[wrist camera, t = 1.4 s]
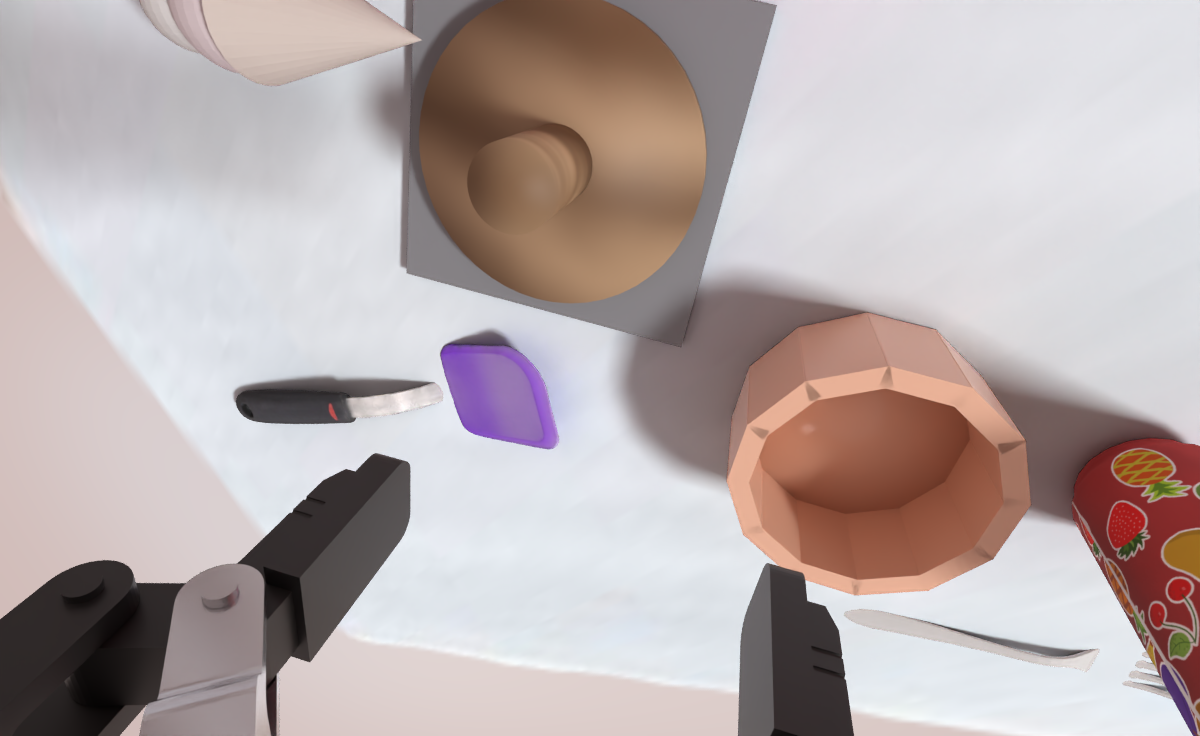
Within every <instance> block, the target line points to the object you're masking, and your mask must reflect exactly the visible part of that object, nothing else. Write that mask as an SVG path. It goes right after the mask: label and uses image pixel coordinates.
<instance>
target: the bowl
mask: <svg viewBox="0 0 1200 736" xmlns="http://www.w3.org/2000/svg"><path fill="white" fill-rule="evenodd" d="M727 483H728V487H729V490H730V493H731V496H732V500H733V503H734V506H735V509H736V513H737V516H738V519H739V522H740V526H741V529H742V532H743V535H744V536H745V537H747V538H748V539H749V540H750V541H751V542H752V543H753V544H755V545H756V546H757V547H758V548H759V549H760V550H761V551H763V552H764V553H765V554H766V555H767V556H768V557H769V558H771V559H772V560H773V561H774V562H775V563H776V564H777V565H779V566H780V567H783V568H787V569H791V570H794V571H798V572H801V573H803V574H804V577H805V580H807V581H810V582H814V583H817V584H820V585H823V586H827V587H830V588H833V589H836V590H840V591H843V592H846V593H849V594H853V595H867V594H883V593H898V592H914V591H929V590H930V589H932V588H934V587H937V586H939V585H941V584H943V583H945V582H947V581H949V580H951V579H953V578H955V577H957V576H959V575H961V574H963V573H965V572H968V571H970V570H972V569H974V568H976V567H978V566H980V565H982V564H984V563H986V562H988V561H990V560H993V559H994V557H995V556H996V554H997V553H998V551H999V550H1000V548H1001V547H1002V546H1003V544H1004V543H1005V541H1006V540H1007V538H1008V537H1009V536H1010V534H1011V533H1012V531H1013V530H1014V529H1015V527H1016V526H1017V524H1018V523H1019V521H1020V520H1021V519H1022V517H1023V516H1024V514H1025V513H1026V511H1027V510H1028V509H1029V507H1030V506H1031V499H1030V488H1029V476H1028V464H1027V452H1026V440H1025V439H1024V437H1023V436H1022V434H1021V433H1020V431H1019V430H1018V428H1017V427H1016V426H1015V424H1014V423H1013V421H1012V420H1011V418H1010V417H1009V415H1008V414H1007V412H1006V411H1005V409H1004V408H1003V407H1002V405H1001V404H1000V402H999V401H998V399H997V398H996V396H995V395H994V393H993V392H992V390H991V389H990V388H989V386H988V385H987V383H986V382H985V380H984V379H983V377H982V376H981V374H979V373H978V372H977V371H976V370H975V369H974V368H973V367H972V366H971V365H970V364H969V363H968V362H967V361H966V360H965V359H964V358H963V357H962V356H961V355H960V354H959V353H958V352H957V351H956V350H955V349H954V348H953V347H952V346H951V345H950V344H949V343H948V342H947V341H946V340H945V339H944V337H943V336H942V335H941V334H940V333H939V332H938V331H937V330H936V329H931V328H927V327H923V326H919V325H915V324H911V323H907V322H903V321H899V320H895V319H891V318H887V317H883V316H879V315H875V314H871V313H868V312H866V313H862V314H858V315H853V316H848V317H844V318H839V319H834V320H830V321H825V322H820V323H816V324H811V325H806V326H802V327H797V329H795V330H794V331H793V332H792V333H790V334H789V335H788V336H787V337H785V338H784V339H783V340H782V341H780V342H779V343H778V344H777V345H776V346H774V347H773V348H772V349H771V350H769V351H768V352H767V353H766V354H764V355H763V356H762V357H761V358H760V359H758V360H757V361H756V362H755V363H753V364H752V365H751V366H750V367H749V370H748V372H747V375H746V378H745V381H744V384H743V387H742V390H741V393H740V395H739V398H738V401H737V404H736V407H735V410H734V413H733V416H732V421H731V433H730V445H729V457H728V469H727Z"/></svg>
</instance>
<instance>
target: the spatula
mask: <svg viewBox="0 0 1200 736" xmlns="http://www.w3.org/2000/svg"><path fill="white" fill-rule="evenodd" d="M441 360H442V364H443V368H444V373H445V376H446V379H447V382H448V385H449V388H450V392H451V395H452V397H453V400H454V404H455V407H456V410H457V413H458V415H459V417H460V420H461V422H462V424H463V426H464V427H465V428H466V429H467V430H468V431H469V432H471V433H473V434H475V435H479V436H483V437H487V438H491V439H497V440H502V441H507V442H513V443H517V444H522V445H528V446H532V447H538V448H544V449H553V448H554V447H556V446H557V445H558V443H559V436H558V432H557V428H556V424H555V421H554V417H553V413H552V409H551V406H550V401H549V398H548V393H547V389H546V385H545V383H544V381H543V379H542V378H541V375H540V374H539V372H538V370H537V369H536V368H535V366H534V365H533V364H532V363H531V362H530V361H529V360H528V359H527V358H526V357H525V356H524V355H523V354H521V353H520V352H518V351H517V350H515V349H512V347H507V346H502V345H501V346H486V345H482V346H481V345H457V344H449V345H446V346H445V347H444V348H443V349H442V351H441ZM441 401H443V392H442V390H441V388H440V387H439V385H438V384H437V383H430V384H427V385H423V386H421V387H416V388H412V389H408V390H404V391H399V392H394V393H389V394H382V395H374V396H362V397H350V396H349V395H348V394H346V393H337V392H317V391H298V390H254V391H245V392H242V393H241V394H239V395H238V397H237V400H236V405H237V408H238V410H239V411H240V413H241V414H242V415H243V416H244V417H246V418H247V419H249V420H252V421H256V422H264V423H282V424H326V423H351V422H354V421H355V419H356V418H370V417H377V416H386V415H393V414H399V413H402V412H407V411H411V410H415V409H418V408H423V407H426V406H429V405H433V404H436V403H439V402H441Z"/></svg>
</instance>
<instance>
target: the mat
mask: <svg viewBox="0 0 1200 736" xmlns="http://www.w3.org/2000/svg"><path fill="white" fill-rule="evenodd" d="M502 1H504V0H414V2H413V34H414V35H415V36H417V37H418V38H420V39H421V40H422V41H418V42H415V43H412V81H411V121H410V161H409V200H408V240H407V273H408V274H412V275H415V276H419V277H423V278H426V279H430V280H434V281H437V282H441V283H445V284H449V285H452V286H456V287H460V288H463V289H467V290H471V291H475V292H478V293H482V294H486V295H489V296H493V297H497V298H501V299H504V300H508V301H512V302H515V303H519V304H523V305H526V306H530V307H534V308H538V309H541V310H545V311H549V312H552V313H556V314H560V315H564V316H567V317H571V318H575V319H578V320H582V321H586V322H589V323H593V324H597V325H601V326H604V327H608V328H612V329H615V330H619V331H623V332H627V333H630V334H634V335H638V336H641V337H645V338H649V339H652V340H656V341H660V342H664V343H667V344H671V345H675V346H678V347H682V343H683V339H684V336H685V332H686V329H687V325H688V321H689V318H690V314H691V311H692V307H693V304H694V300H695V296H696V293H697V289H698V286H699V282H700V278H701V275H702V271H703V268H704V264H705V261H706V257H707V253H708V250H709V246H710V243H711V239H712V235H713V232H714V228H715V225H716V221H717V218H718V214H719V210H720V207H721V203H722V200H723V196H724V192H725V189H726V185H727V182H728V178H729V175H730V171H731V167H732V164H733V160H734V157H735V153H736V149H737V146H738V142H739V139H740V135H741V132H742V128H743V124H744V121H745V117H746V114H747V110H748V107H749V103H750V99H751V96H752V92H753V89H754V85H755V81H756V78H757V74H758V71H759V67H760V64H761V60H762V56H763V53H764V49H765V46H766V42H767V38H768V35H769V31H770V28H771V24H772V21H773V17H774V13H775V10H776V6H777V5H773V4H768V3H763V2H758V1H753V0H604V1H606V2H609V3H611V4H613V5H615V6H617V7H619V8H622V9H624V10H626V11H627V12H629V13H630V14H632V15H633V16H635V17H636V18H638V19H639V20H641V21H642V22H644V23H645V24H646V25H647V26H648V27H649V28H651V29H652V30H653V31H654V32H655V33H656V34H657V35H658V36H659V37H660V38H661V39H662V40H663V41H664V42H665V44H666V45H667V46H668V47H669V48H670V49H671V50H672V52H673V53H674V54H675V56H676V57H677V59H678V61H679V62H680V64H681V65H682V67H683V68H684V70H685V71H686V73H687V76H688V78H689V80H690V82H691V84H692V86H693V88H694V90H695V93H696V96H697V99H698V102H699V105H700V108H701V111H702V116H703V121H704V127H705V132H706V146H707V162H706V176H705V181H704V186H703V191H702V196H701V199H700V202H699V205H698V208H697V211H696V214H695V216H694V218H693V220H692V223H691V225H690V227H689V229H688V231H687V233H686V235H685V237H684V238H683V240H682V241H681V243H680V244H679V246H678V247H677V249H676V250H675V252H674V253H673V254H672V255H671V256H670V257H669V259H668V260H667V261H666V262H665V263H664V264H663V265H662V266H661V267H660V268H659V269H658V270H657V271H656V272H655V273H653V274H652V275H651V276H650V277H649V278H647V279H646V280H644V281H643V282H641V283H640V284H638V285H637V286H635V287H633V288H631V289H629V290H627V291H625V292H623V293H621V294H618V295H615V296H612V297H609V298H606V299H603V300H598V301H592V302H587V303H557V302H550V301H545V300H540V299H536V298H533V297H530V296H527V295H524V294H521V293H519V292H516V291H514V290H512V289H510V288H508V287H506V286H504V285H502V284H501V283H499V282H498V281H496V280H494V279H493V278H491V277H490V276H488V275H487V274H486V273H485V272H483V271H482V270H481V269H480V268H478V267H477V266H476V265H475V264H474V263H473V262H472V261H471V260H470V259H469V258H468V257H467V256H466V255H465V254H464V253H463V252H462V251H461V249H460V248H459V247H458V246H457V245H456V243H455V242H454V241H453V240H452V238H451V237H450V235H449V234H448V232H447V230H446V229H445V227H444V226H443V224H442V222H441V220H440V218H439V216H438V214H437V213H436V211H435V209H434V206H433V204H432V201H431V198H430V196H429V193H428V190H427V187H426V183H425V179H424V175H423V171H422V165H421V158H420V149H419V126H420V115H421V109H422V104H423V99H424V95H425V91H426V88H427V85H428V82H429V80H430V77H431V74H432V72H433V70H434V68H435V66H436V64H437V62H438V60H439V58H440V56H441V55H442V53H443V52H444V50H445V49H446V47H447V46H448V45H449V43H450V42H451V40H452V39H453V38H454V37H455V36H456V35H457V34H458V33H459V31H460V30H461V29H462V28H463V27H464V26H465V25H466V24H467V23H469V22H470V21H471V20H472V19H474V18H475V17H476V16H477V15H479V14H480V13H481V12H483V11H485V10H487V9H488V8H490V7H492V6H494V5H495V4H497V3H499V2H502Z"/></svg>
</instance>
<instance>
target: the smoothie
mask: <svg viewBox="0 0 1200 736" xmlns="http://www.w3.org/2000/svg"><path fill="white" fill-rule="evenodd" d="M1072 512H1073V520H1074V521H1075V523H1076V525H1077V527H1078V528H1079V530H1080V532H1081V534H1082V536H1083V537H1084V539H1085V541H1086V543H1087V545H1088V546H1089V548H1090V550H1091V552H1092V554H1093V556H1094V557H1095V559H1096V561H1097V563H1098V565H1099V566H1100V568H1101V570H1102V572H1103V574H1104V575H1105V577H1106V579H1107V581H1108V583H1109V584H1110V586H1111V588H1112V590H1113V592H1114V594H1115V595H1116V597H1117V599H1118V601H1119V603H1120V604H1121V606H1122V608H1123V610H1124V612H1125V613H1126V615H1127V617H1128V619H1129V621H1130V623H1131V624H1132V626H1133V628H1134V630H1135V632H1136V633H1137V635H1138V637H1139V639H1140V641H1141V642H1142V644H1143V646H1144V648H1145V650H1146V651H1147V653H1148V655H1149V657H1150V659H1151V661H1152V662H1153V664H1154V666H1155V668H1156V670H1157V671H1158V673H1159V675H1160V677H1161V679H1162V680H1163V682H1164V684H1165V686H1166V688H1167V689H1168V691H1169V693H1170V695H1171V697H1172V699H1173V700H1174V702H1175V704H1176V706H1177V708H1178V709H1179V711H1180V713H1181V715H1182V717H1183V718H1184V720H1185V722H1186V724H1187V726H1188V728H1189V729H1190V731H1191V733H1192V735H1193V736H1200V446H1198V445H1195V444H1183V443H1181V442H1178V441H1175V440H1171V439H1157V438H1147V439H1140V440H1133V441H1127V442H1124V443H1122V444H1119V445H1116V446H1114V447H1111V448H1108V449H1106V450H1105V451H1103V452H1102V453H1100V454H1099V455H1097V456H1095V457H1094V458H1092V459H1091V460H1090V461H1089V462H1088V463H1087V464H1086V466H1085V467H1084V468H1083V469H1082V470H1081V471H1080V473H1079V475H1078V477H1077V480H1076V483H1075V485H1074V497H1073V500H1072Z"/></svg>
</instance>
